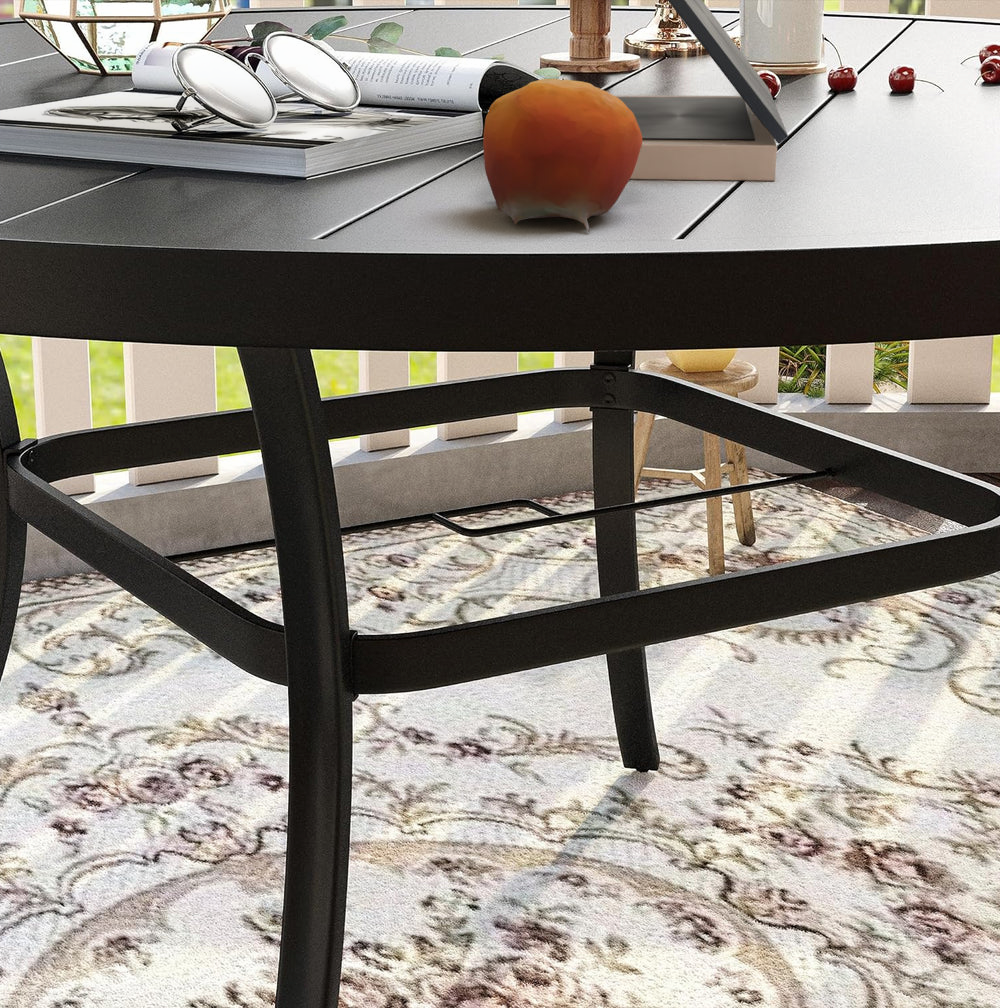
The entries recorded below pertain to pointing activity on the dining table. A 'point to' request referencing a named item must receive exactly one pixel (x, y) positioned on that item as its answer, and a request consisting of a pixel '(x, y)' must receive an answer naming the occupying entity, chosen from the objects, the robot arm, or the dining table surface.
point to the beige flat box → (701, 139)
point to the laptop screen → (731, 63)
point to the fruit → (559, 150)
